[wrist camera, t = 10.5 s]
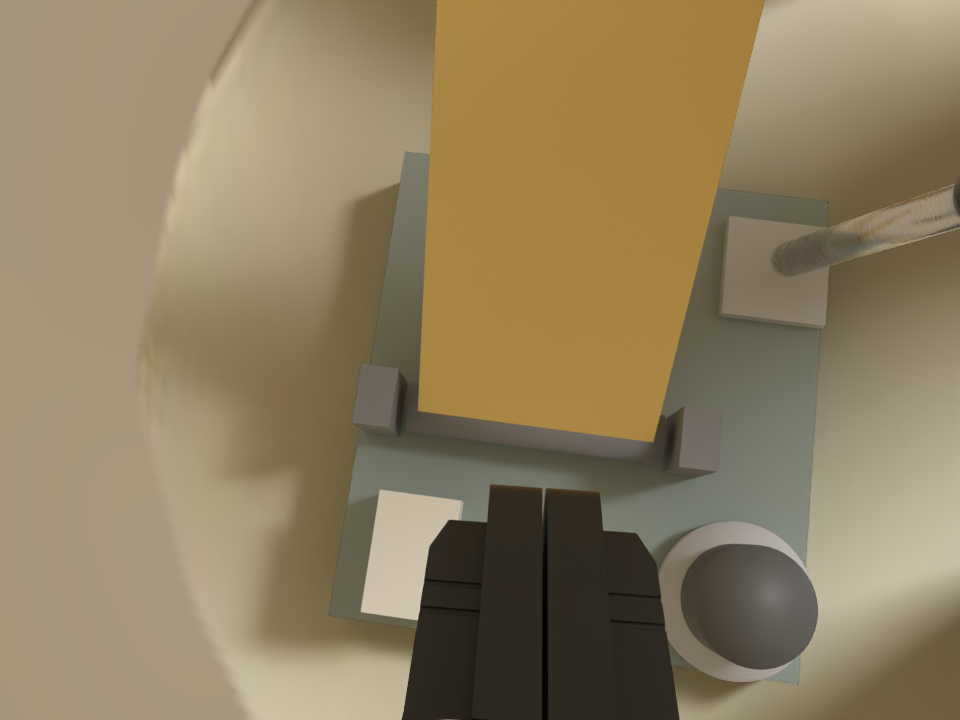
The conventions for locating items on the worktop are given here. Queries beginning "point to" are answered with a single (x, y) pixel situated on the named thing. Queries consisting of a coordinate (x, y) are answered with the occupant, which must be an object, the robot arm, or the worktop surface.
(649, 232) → the upright ochre plank
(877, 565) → the worktop surface
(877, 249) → the toggle
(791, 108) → the worktop surface
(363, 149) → the worktop surface
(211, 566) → the worktop surface
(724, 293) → the panel
